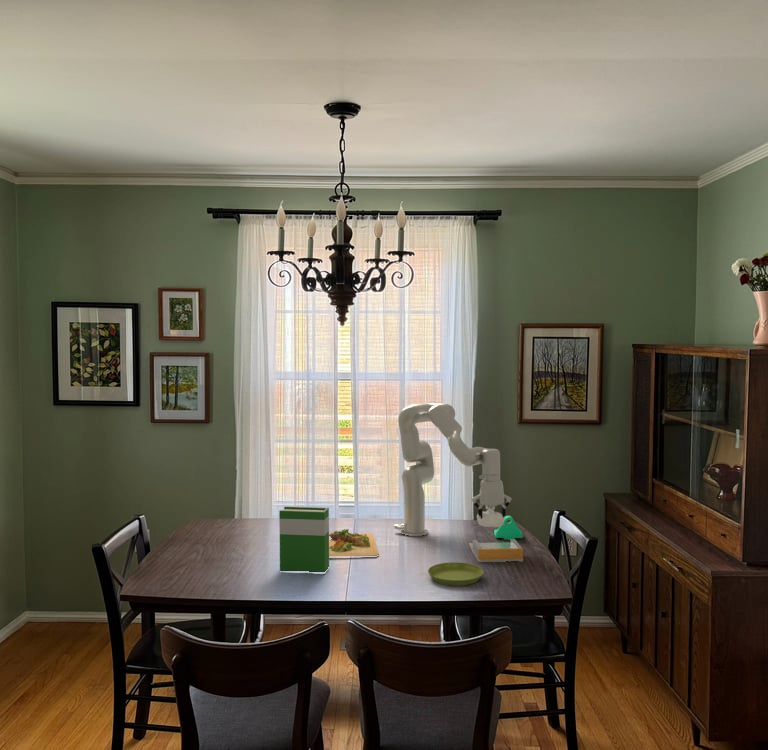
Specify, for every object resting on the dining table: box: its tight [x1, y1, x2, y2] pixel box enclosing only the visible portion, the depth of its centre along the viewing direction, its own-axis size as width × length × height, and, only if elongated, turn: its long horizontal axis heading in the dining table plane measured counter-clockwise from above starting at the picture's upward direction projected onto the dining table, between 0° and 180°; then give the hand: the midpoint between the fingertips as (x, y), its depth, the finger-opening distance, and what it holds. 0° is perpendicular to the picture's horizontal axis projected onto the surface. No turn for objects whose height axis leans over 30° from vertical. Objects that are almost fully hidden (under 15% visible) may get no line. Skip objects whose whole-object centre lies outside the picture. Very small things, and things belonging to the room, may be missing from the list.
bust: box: [476, 505, 506, 529], centre depth 298 cm, size 12×8×11 cm
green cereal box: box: [278, 506, 330, 572], centre depth 267 cm, size 18×7×24 cm, turn 82°
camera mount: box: [493, 515, 524, 541], centre depth 314 cm, size 12×8×10 cm, turn 86°
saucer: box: [427, 561, 484, 587], centre depth 258 cm, size 21×21×3 cm
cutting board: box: [329, 528, 380, 556], centre depth 300 cm, size 35×23×8 cm
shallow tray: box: [468, 538, 524, 563], centre depth 290 cm, size 18×24×5 cm
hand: (491, 517), depth 297 cm, fingers closed on bust, 9 cm apart
